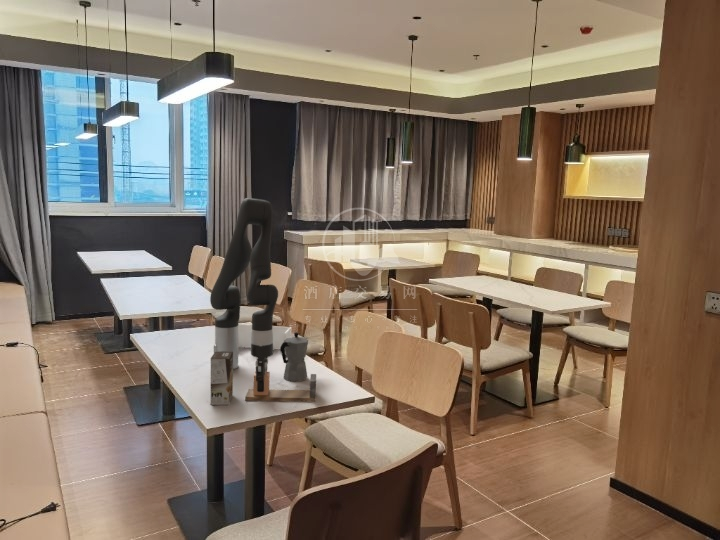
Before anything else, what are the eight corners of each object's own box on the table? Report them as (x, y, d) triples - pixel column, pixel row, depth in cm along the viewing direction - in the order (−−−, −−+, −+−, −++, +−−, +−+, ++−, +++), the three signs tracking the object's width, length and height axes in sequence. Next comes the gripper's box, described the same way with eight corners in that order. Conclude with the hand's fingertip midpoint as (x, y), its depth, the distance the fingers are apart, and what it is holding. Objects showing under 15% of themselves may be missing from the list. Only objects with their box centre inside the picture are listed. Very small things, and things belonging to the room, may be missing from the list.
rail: (245, 400, 198) (245, 380, 197) (248, 392, 206) (248, 372, 205) (315, 401, 200) (315, 381, 199) (315, 393, 207) (316, 374, 206)
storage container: (291, 350, 261) (291, 327, 260) (285, 357, 251) (285, 333, 249) (237, 347, 264) (237, 323, 263) (229, 353, 254) (229, 329, 252)
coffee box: (229, 405, 194) (229, 358, 191) (210, 405, 193) (210, 358, 191) (233, 395, 203) (233, 351, 200) (214, 395, 202) (214, 350, 200)
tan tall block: (253, 395, 200) (253, 375, 199) (255, 390, 204) (255, 371, 203) (267, 395, 200) (268, 375, 199) (269, 390, 205) (269, 371, 204)
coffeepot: (296, 371, 232) (297, 327, 229) (315, 376, 227) (316, 331, 224) (271, 381, 219) (271, 335, 216) (290, 386, 214) (291, 339, 211)
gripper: (253, 336, 207) (253, 382, 209) (248, 346, 193) (247, 396, 195) (274, 336, 207) (274, 382, 209) (270, 347, 193) (270, 396, 195)
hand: (261, 388), depth 202 cm, fingers closed on tan tall block, 4 cm apart
